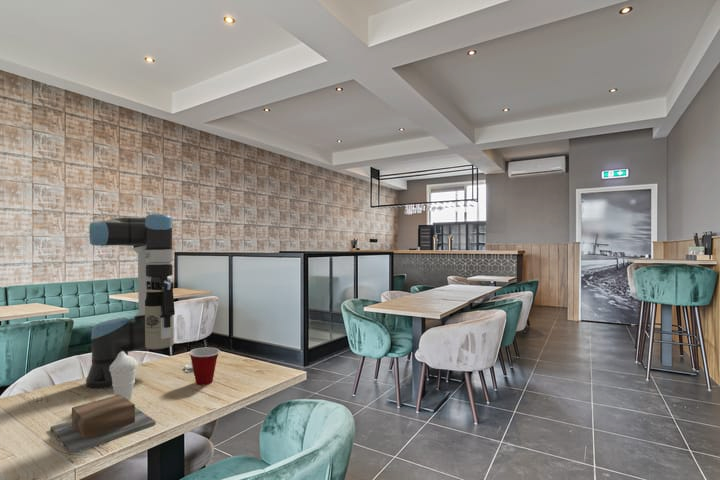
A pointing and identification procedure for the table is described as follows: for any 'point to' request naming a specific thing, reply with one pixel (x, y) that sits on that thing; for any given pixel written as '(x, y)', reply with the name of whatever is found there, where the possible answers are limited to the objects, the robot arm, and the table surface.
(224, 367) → the table surface
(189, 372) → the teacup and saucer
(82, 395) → the table surface
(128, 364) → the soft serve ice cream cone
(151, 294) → the travel mug
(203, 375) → the plastic cup
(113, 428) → the base
